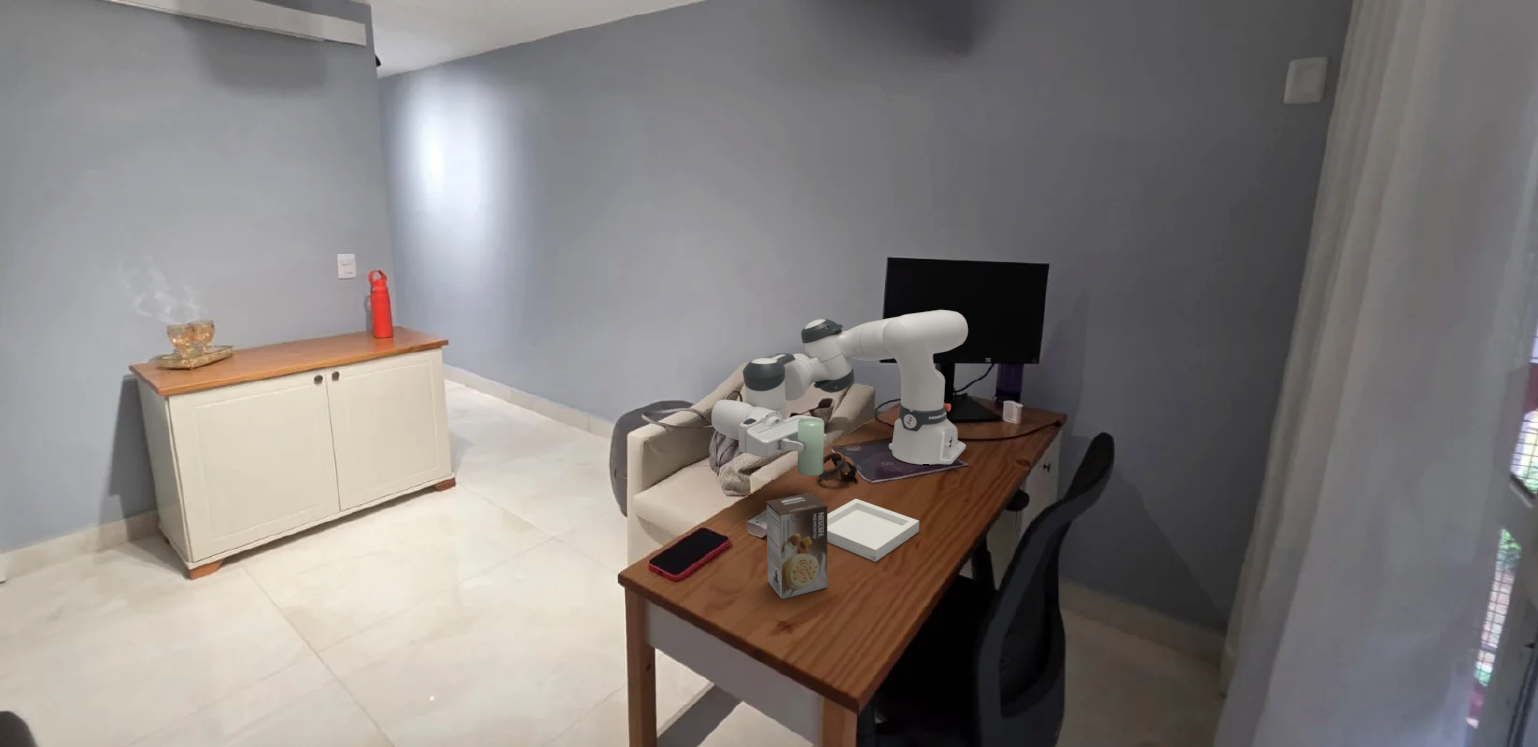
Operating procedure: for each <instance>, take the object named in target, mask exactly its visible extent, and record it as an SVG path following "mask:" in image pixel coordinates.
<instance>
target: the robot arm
mask: <svg viewBox="0 0 1538 747" xmlns="http://www.w3.org/2000/svg"><path fill="white" fill-rule="evenodd" d="M968 327H969V326H968V323H967V320H966V318H965V317H964V315H963V314H961V313H959V311H958V312H957V311H953V310H948V309H947V310H945V309H937V310H930V311H928V310H927V311H923V312H915V313H907V314H903V315H900V316H895V317H890V318H885V319H884V318H883V319H877V320H873V321H867V322H864V323H861V324H858V325H856V326H854V327H851V328H850V329H848V330H843V328H844V326H843V325H842V324H841V323H840V324H839V323H837V322H835V321H834V320H831V319H828V318H824V319H822V318H821V319H819V318H818V319H815V320H813V321H811V322H809V323H807V325H805V326H804V327H803V328H802V329H801V332H800V337H801V342H802V344H803V345H804V349H805V353H806V354H804V353H794V354H791V353H775V354H771V355H768V356H766V357H762V358H761V357H760V358H756V359H753V360H750V361H749V362H748V363H747V364H746V365H745V366H744V368H743V370H742V375H743V383H744V390H745V392H744V394H745V402H744V401H738V400H731V399H719V400H717V401H716V402H715V403H714V405H713V407H712V410H711V414H710V415H711V416H710V417H711V424H712V427H713V428H714V430H715V431H717V432H718V433H720V434H722V435H724V436H727V437H728V438H731V439H734V440H737V441H738V445H739V448H738V449H739V451H740V453H743V454H750V455H752V456H755V457H761V458H769V457H772V456H773V455H776V454H779V453H780V452H784V451H794V452H795V451H796V452H798V451H799V452H802V451H804V450H805V449H806V447H805V446H806V443H805V442H802V441H798V421H799V420H801V419H806V418H815V419H820V420H822V421H824V420H823V418H820V417H816V416H811V415H805V414H804V415H803V414H797V415H793V416H791V417H787V402H786V401H797V400H799V399H800V398H803V396H804V395H806V393H807V391H808V390H809V389H810V388H811V386H812V384H813V387H814V388H815V389H820V390H821V391H823V392H824V393H830V394H834V393H840V392H843V391H845V390H847V389H848V388H850V387H851V386H852V385H853V384H854V382H855V372H854V369H853V368H852V365H851V360H850V358H851V359H854V360H859V361H869V362H871V361H872V362H873V361H882V360H883V361H884V360H892V359H894V360H895V361H896V362H897V365H898V369H899V373H900V381H901V383H900V384H901V385H900V386H901V389H900V391H901V392H900V395H901V396H900V402H899V406H898V419H896V420H895V422H894V428H893V435H892V436H893V437H892V442H891V443H889V444H888V448H889V450H891V454H892V456H893V457H894V458H896V459H897V460H900V461H902V462H905V463H909V464H914V465H923V464H929V465H952V464H953V463H954V461H956V459H957V458H958V457H959V456H960V455H961V454H962V453H963V452H964V451H965V449H966V448H967V445H966V444H965V443H964V442H962V441H960V440H958V438H959V437H958V436H959V435H958V434H959V432H958V428H957V427H956V426H955V424H954V423H952V422H951V421H950V420H949V419H948V418H947V412H950V411H951V409H952V405H951V403H946V402H945V401H944V400H945V391H946V390H945V385H946V379H945V376H944V375H943V374H942V372H941V371H939V370H938V369H936V366H935V364H934V354H939V353H945V352H949V351H951V350H954V349H955V348H958V347H959V346H961V345H963V344H964V342H965V341H966V339H967V337H968V334H969V328H968ZM826 441H827V435H826V433H824V443H825V442H826Z"/></svg>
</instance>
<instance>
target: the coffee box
mask: <svg viewBox="0 0 1538 747" xmlns="http://www.w3.org/2000/svg"><path fill="white" fill-rule="evenodd" d="M765 504H766V539H767V540H766V542H767V543H766V544H767V546H766V547H767V548H766V550H767V553H766V554H767V583H768V584H769V585H770V586H771V587H772V589H773V590H774V591H775V592H776V594H777V595H778V596H779V597H780V599H782V600H784V599H788V598H792V597H796V596H799V595H803V594H807V593H810V592H815V591H819V590H822V589H826V588H828V542H827V514H828V506H829V505H828V504H826V503H825V502H823V501H822V500H821V499H820V498H819V497H818V496H815V495H814V493H812V492H806V493H801V494H797V495H792V496H786V497H782V498H781V497H780V498H777V499H772V500H766V501H765Z"/></svg>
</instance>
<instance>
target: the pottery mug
mask: <svg viewBox="0 0 1538 747" xmlns="http://www.w3.org/2000/svg"><path fill="white" fill-rule="evenodd" d="M830 460H831V462H832V463H833V465H834V467H833V468H829V469H826V470H825V469H823V473H822V474H820V475H817V476H818V479H819V482H820V481H825V482H826V481H827V482H828V481H832V480H835V479H837V480H842V477H841V472H842V473H843V472H844V473H847V474H846V475H847V476H848V477H850V476H852V477H854V479H855V480H856V481H855V482H856V484H859V483H860V478H859V472H858V469H857V466H856V465H855V463H854V461H853V460H852V458H850V457H848V456H847V455H845V453H844V452H843V450H841V449H837V450H835V451H834V452H829V453H827V454H826V455H824V459H823V466H824V465H825V464H826V463H827V462H829V461H830Z"/></svg>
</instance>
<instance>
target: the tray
mask: <svg viewBox="0 0 1538 747" xmlns="http://www.w3.org/2000/svg"><path fill="white" fill-rule="evenodd" d="M919 532H920V520H917V519H916V518H912V517H910V516H907V515H904V514H901V513H899V512H896V511H895V512H894V511H892V510H890V509H886V508H884V507H881V506H877V505H875V504H872V503H869V502H867V501H863V500H862V499H861V500H860V499H857V498H854V499H852V500H850V501H849V502H847V503H845V504H843V505H841V506H840V507H838V508H836V509H834V510H832V511H830V512H829V513H827V543H829V544H832V545H834V546H837V547H839V548H841V549H844V550H845V551H847V552H848V551H849V552H851V553H853V554H856V555H858V556H860V557H863V558H865V559H868V560H870V561H872V562H877V561H879V560H880V559H882V558H883V557H885V556H886V555H887V554H889V553H890V552H892V551H894V550H895V549H896V548H898V547H899V546H900V545H902V544H903V543H905V542H906V541H908V540H909V539H910V537H911V538H912V537H913V536H915V535H916V534H918V533H919Z"/></svg>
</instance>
